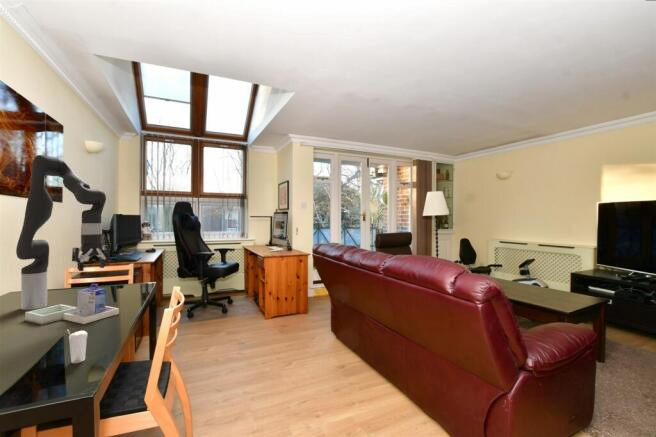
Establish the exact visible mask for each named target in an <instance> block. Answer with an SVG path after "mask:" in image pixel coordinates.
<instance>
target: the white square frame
mask: <svg viewBox="0 0 656 437" xmlns="http://www.w3.org/2000/svg"><path fill="white" fill-rule="evenodd" d="M117 315H120V308H118V307H114V306H108V305H105V312H102V313H98V314H95V315H91V316H87V317H81V316H77V310H76V311H72V312H67V313H63V319H62V320H65V321H69V322H73V323H77V324H83V325H85V324H89V323H92V322H95V321H98V320H102V319H105V318H110V317H112V316H117Z"/></svg>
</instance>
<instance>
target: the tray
mask: <svg viewBox="0 0 656 437" xmlns="http://www.w3.org/2000/svg"><path fill="white" fill-rule="evenodd" d="M77 309H78V306H73V305H67V304H56V305H52V306H48V307H47V306H46V307H43V308H39V309H32V310H28V311H25V315H24V316H25V321H26V322H27V321H28V322H31V323H35V324H39V325H46V324H50V323H53V322H58V321H61V320H64V319H63V313H67V312H72V311H76V310H77Z"/></svg>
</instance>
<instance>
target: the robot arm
mask: <svg viewBox="0 0 656 437" xmlns="http://www.w3.org/2000/svg"><path fill="white" fill-rule="evenodd" d="M46 176H49V177H58V178H61V179H62V183H63V186H64V188H66V189H67V190H68V191H69V192H71V193H72V195H73V196H74V198H75V200H76V202H78V203H79V204H82V205H90V206H91V205H92V206H91V207H90V209H86V210H83V211H82V212H81V227H80V245H81V246H80V247H76V246H75V247H73V248H72V253H71V262H75V263H76V264H77V270H78V271H79V272H84V261H85V260H86V259H87V258H88V257H93V256H94V257H95V256H96V257H98V258H99V268H100V269H104V268H105V267H106V261H107V260H106V259H108V258H110V257H111V251H110V245H109V244H104V245H103V225H102V214H103V210H104V208H105V204H106V201H107V195H106V194H105V191H103V190H101V189H95V188H91V186H90V185H89V184H88V183H87V182H86V181H85V180H84V179H82V178H80V177H79V176H78V175H77V174H76V173H75V171H73V170H72V168H71V167H70V166H69V165H68V163H67V162H66V161H65V160H64V159H62V158H60V157H58V156H57V157H55V156H49V155H43V154H38V155H36V156H35V157H34V158H33V160H32V163H31V172H30V185H29V186H30V187H29V193H28V197H27V202H26V207H25V212H24V219H23V224H22V228H21V232H20V235H19V237H18V241H17V244H16V248H15V251H16V252H15V254H16V257H17V258H18V259H19V260H20V261H22V260H23V261H24V260H33V262H31V263H30V264H27V265H24V266H23V267H21V272H20V274H21V275H20V277H21V278H20V281H21V282H20V284H21V285H20V288H21V290H20V292H21V296H20V298H21V299H20V303H21V304H20V305H21V306H20V307H21V308H20V310H22V311H33V310H38V309H42V308H47V306H48V268H49V262H50V261H49V260H50V244H49V242H48V241H47V240H45V239H34V238H35V235H36V233H37V232H38V230H39V229H40V228H42V227H43V225H45V223H47V222H48V221H49V219H51V217H52V213H53V209H54V200H53V199H52V197H51V195H50V194H49V192H48V191H47V188H46V184H45V181H46V180H45V179H46ZM102 250H103V252H102ZM80 252H81V254H80Z"/></svg>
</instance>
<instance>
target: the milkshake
mask: <svg viewBox="0 0 656 437" xmlns="http://www.w3.org/2000/svg"><path fill="white" fill-rule="evenodd" d="M67 333H68V334H69V336H68V341H69V352H70V361H71V363H72V364H79V363H82V362H84V361H85V360H86V351H87V342H88V332H87V331H85V330H79V331H75V332H72V333H71V331H70V330H69V328H68V329H67Z"/></svg>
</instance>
